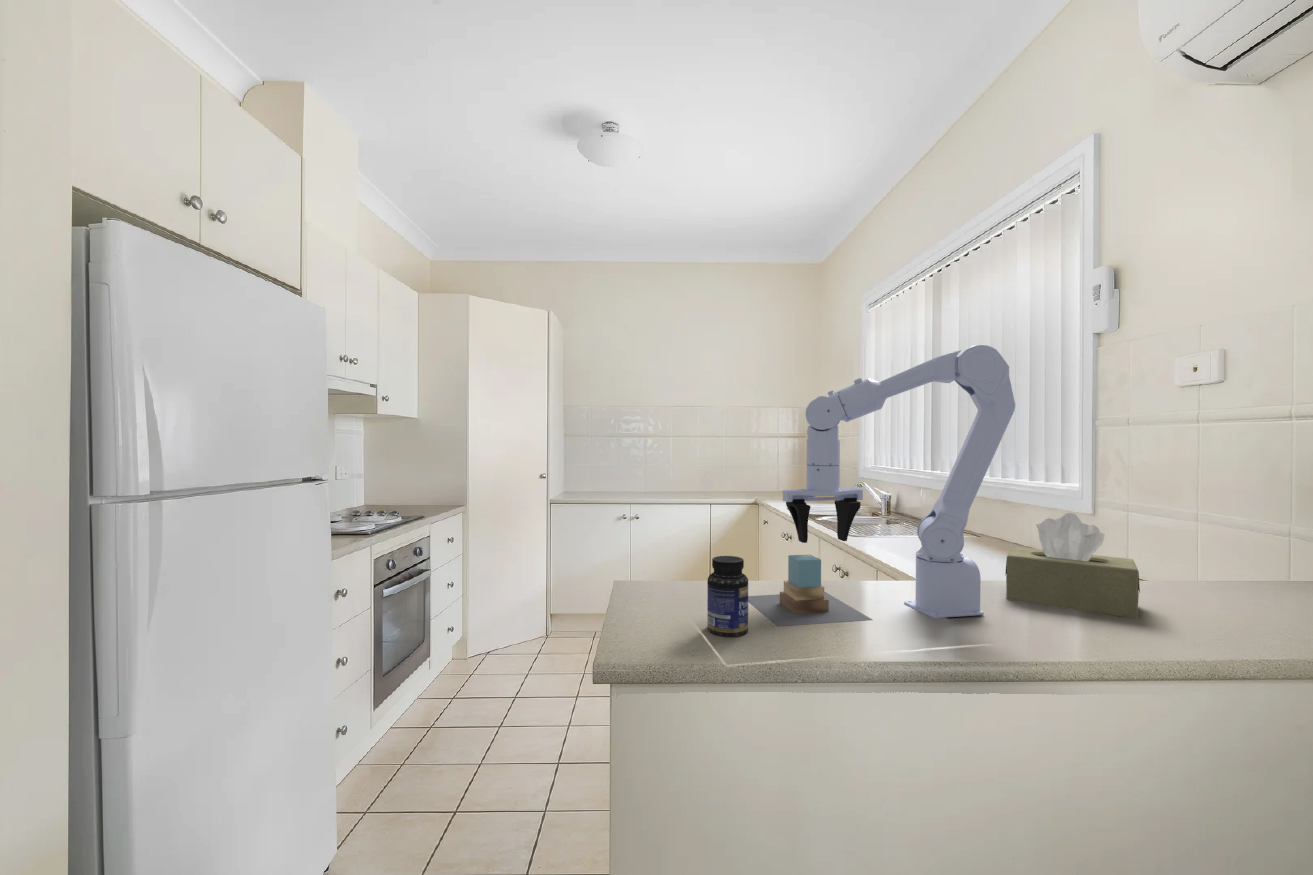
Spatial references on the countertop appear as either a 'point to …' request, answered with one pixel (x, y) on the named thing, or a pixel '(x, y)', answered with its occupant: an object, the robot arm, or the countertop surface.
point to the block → (804, 571)
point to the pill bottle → (727, 597)
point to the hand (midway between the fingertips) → (822, 541)
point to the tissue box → (1072, 571)
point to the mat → (785, 617)
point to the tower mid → (803, 592)
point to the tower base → (804, 604)
